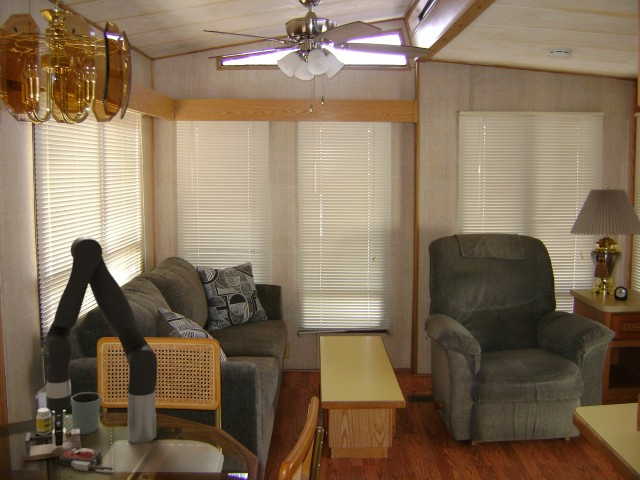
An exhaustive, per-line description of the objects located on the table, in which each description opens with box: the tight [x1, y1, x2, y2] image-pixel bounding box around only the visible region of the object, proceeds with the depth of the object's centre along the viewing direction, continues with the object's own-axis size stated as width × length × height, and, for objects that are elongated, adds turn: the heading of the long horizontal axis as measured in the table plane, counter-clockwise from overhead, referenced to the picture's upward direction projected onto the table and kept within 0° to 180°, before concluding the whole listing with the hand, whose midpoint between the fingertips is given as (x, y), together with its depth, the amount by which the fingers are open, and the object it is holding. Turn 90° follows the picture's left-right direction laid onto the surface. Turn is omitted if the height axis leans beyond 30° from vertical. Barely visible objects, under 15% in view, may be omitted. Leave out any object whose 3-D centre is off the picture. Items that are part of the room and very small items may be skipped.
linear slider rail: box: [23, 428, 82, 462], centre depth 207 cm, size 17×7×7 cm, turn 111°
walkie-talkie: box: [55, 447, 113, 472], centre depth 200 cm, size 9×4×20 cm
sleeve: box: [51, 427, 67, 444], centre depth 207 cm, size 4×3×3 cm
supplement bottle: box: [35, 407, 52, 436], centre depth 221 cm, size 5×5×8 cm
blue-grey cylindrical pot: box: [70, 391, 102, 435], centre depth 225 cm, size 10×10×12 cm
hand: (59, 442), depth 207 cm, fingers closed on sleeve, 3 cm apart
